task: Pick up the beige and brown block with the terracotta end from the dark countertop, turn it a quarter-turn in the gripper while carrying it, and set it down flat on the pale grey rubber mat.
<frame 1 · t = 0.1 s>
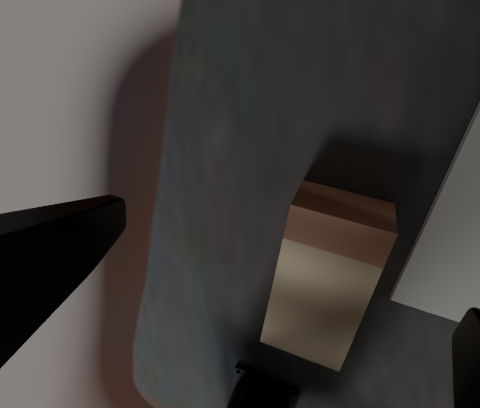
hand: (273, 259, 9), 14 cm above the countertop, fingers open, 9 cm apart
beige and brown block: (325, 261, 25), on the countertop
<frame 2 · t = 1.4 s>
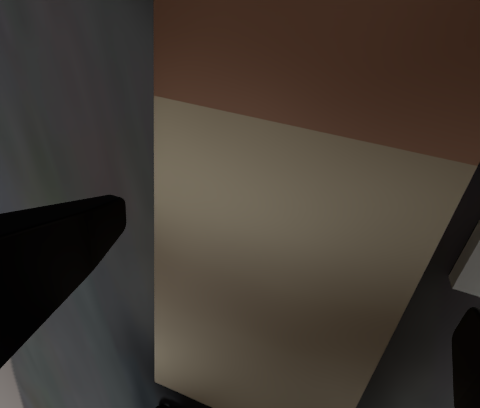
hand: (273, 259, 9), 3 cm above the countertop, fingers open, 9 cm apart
beige and brown block: (298, 203, 11), on the countertop
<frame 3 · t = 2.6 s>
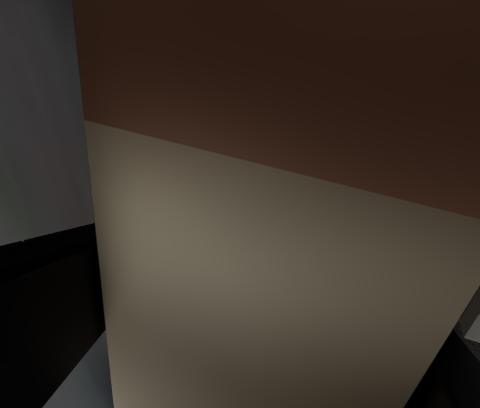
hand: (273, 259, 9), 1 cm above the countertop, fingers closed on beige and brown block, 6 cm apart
beige and brown block: (284, 235, 10), on the countertop, touching gripper
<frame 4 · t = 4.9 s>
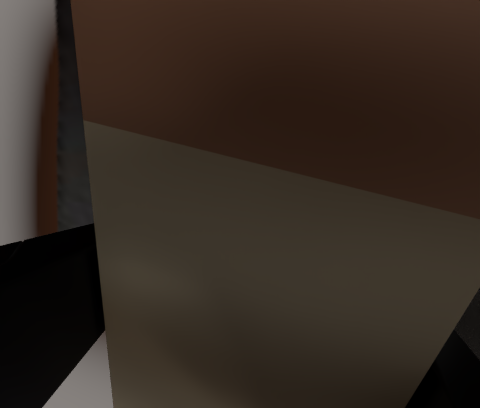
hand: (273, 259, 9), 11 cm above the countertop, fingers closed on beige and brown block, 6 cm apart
beige and brown block: (284, 235, 10), point 10 cm above the countertop, touching gripper
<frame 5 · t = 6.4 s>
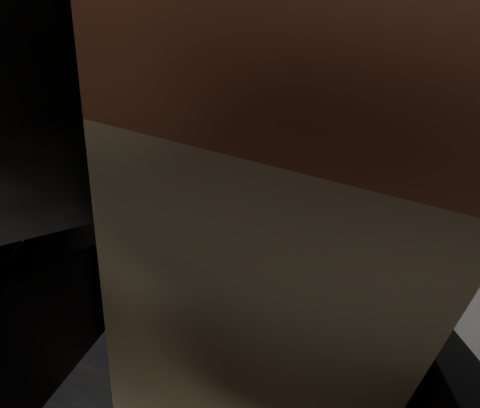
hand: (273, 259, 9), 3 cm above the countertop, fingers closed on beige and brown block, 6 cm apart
beige and brown block: (284, 234, 10), point 2 cm above the countertop, touching gripper
grey mat: (296, 202, 11), on the countertop
when the fingers open (3 cm above the countertop, at t = 7.3 s): beige and brown block drops 1 cm, resting on grey mat.
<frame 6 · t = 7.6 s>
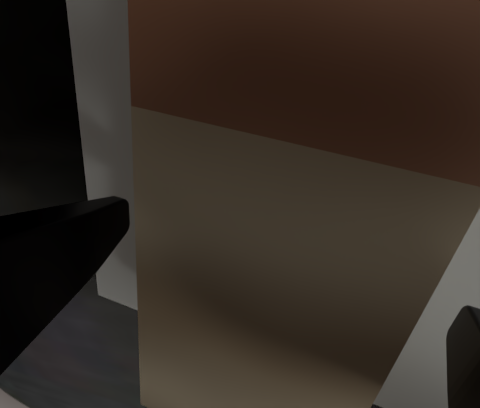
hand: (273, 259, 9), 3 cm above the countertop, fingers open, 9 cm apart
beige and brown block: (293, 216, 11), point 1 cm above the countertop, touching grey mat
grey mat: (295, 207, 11), on the countertop
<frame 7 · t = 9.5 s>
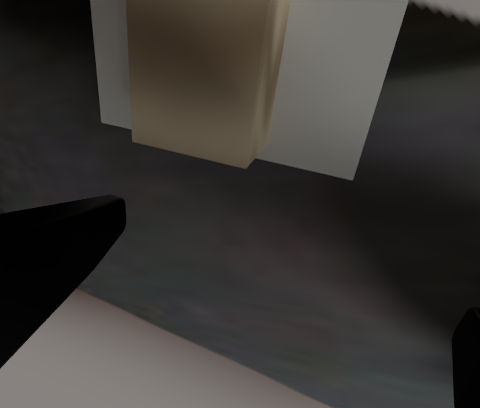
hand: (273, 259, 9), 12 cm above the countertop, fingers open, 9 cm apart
beige and brown block: (227, 14, 17), point 1 cm above the countertop, touching grey mat
grey mat: (230, 15, 17), on the countertop
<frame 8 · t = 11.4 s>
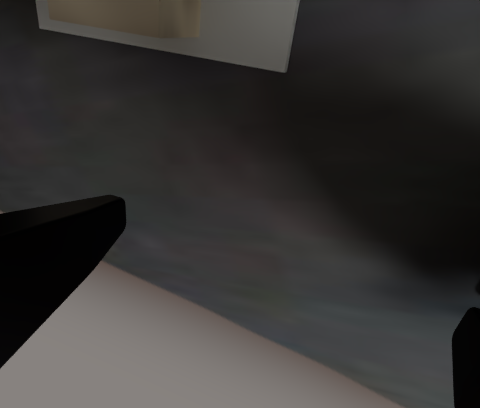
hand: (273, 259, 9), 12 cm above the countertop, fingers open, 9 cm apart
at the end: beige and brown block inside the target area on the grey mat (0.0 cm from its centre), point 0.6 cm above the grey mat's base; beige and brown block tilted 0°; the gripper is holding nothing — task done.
